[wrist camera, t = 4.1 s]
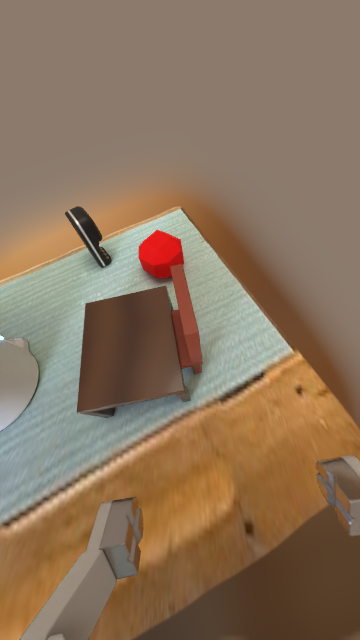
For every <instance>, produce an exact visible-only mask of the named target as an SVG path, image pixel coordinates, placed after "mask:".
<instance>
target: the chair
mask: <svg viewBox="0 0 360 640" xmlns="http://www.w3.org/2000/svg"><path fill="white" fill-rule="evenodd" d="M170 268H171V273H172V278H173V283H174V288H175V293H176V298H177V303H178V307H179V309H178V310H174V311H171V313H172V318H173V324H174V330H175V335H176V341H177V346H178V352H179V357H180V363H181V369H183V368H187V367H192V366H193V370H194V373H199V372H202V368H201V365H202V355H201V347H200V338H199V331H198V327H197V323H196V319H195V315H194V311H193V307H192V302H191V298H190V294H189V290H188V286H187V282H186V278H185V274H184V270H183V266H182V264H179V265H175V266H170Z"/></svg>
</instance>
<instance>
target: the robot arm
mask: <svg viewBox="0 0 360 640" xmlns="http://www.w3.org/2000/svg"><path fill="white" fill-rule="evenodd" d="M38 377H39V369H38V364H37V362H36V360H35V358H34V357H33V356H32V354H31V353H30V352H29V347H28V342H27V340H26V339H23V338H14V339H8V340H5V339H4V337H2V336H0V431H1V430H3V429H4V428H6V427H7V426H8V425H10V424H11V423H12V422H13V421H14V420H15V419H16V418H17V417H18V416H19V415H20V414H21V413H22V412H23V411H24V409H25V408H26V406H27V405H28V403H29V402H30V400H31V398H32V396H33V394H34V392H35V389H36V386H37V383H38ZM316 468H317V470H318V471H319V473H318V474H317V483H318V485H319V488H320V490H321V492H322V494H323V496H324V498H325V499H326V501H327V502H328V503H329V504H331V505H332V506H333V507H335V508H336V516H337V518H338V519H339V521H340V522H341V523H342V525H343V527H344V528H345V530H346V531H347V533H348V534H349V536H356V535H360V461H359V460H358V459H357V458H356V457H355V456H353V455H347V456H343V457H336V458H331V459H326V460H322V461H317V463H316ZM142 536H143V514H142V511H141V509H140V508H139V507H138V500H137V498H136V497H131V498H125V499H120V500H113V501H108V502H103V503H102V504H101V506H100V508H99V511H98V514H97V517H96V520H95V524H94V527H93V530H92V533H91V536H90V539H89V543H88V546H87V549H86V552H85V553H82V554H81V555H80V557H79V558H78V559H77V561H76V562H75V563H74V565H73V566H72V568H71V569H70V570H69V572H68V573H67V574H66V576H65V577H64V579H63V580H62V581H61V583H60V584H59V585H58V587H57V588H56V590H55V591H54V592H53V594H52V595H51V596H50V598H49V599H48V601H47V602H46V603H45V605H44V606H43V607H42V609H41V610H40V612H39V613H38V614H37V616H36V617H35V618H34V620H33V621H32V623H31V624H30V625H29V627H28V628H27V630H26V631H25V632H24V634H23V635H22V636H21V638H20V639H19V640H89V638H90V636H91V633H92V631H93V629H94V627H95V625H96V623H97V621H98V619H99V617H100V615H101V613H102V611H103V609H104V607H105V605H106V603H107V601H108V599H109V597H110V595H111V593H112V591H113V589H114V586H115V584H116V582H117V580H116V579H121V578H125V577H130V576H134V575H138V569H139V561H140V553H141V551H140V548H139V546H138V544H139V542H140V540H141V539H142Z"/></svg>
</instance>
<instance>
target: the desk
mask: <svg viewBox="0 0 360 640" xmlns="http://www.w3.org/2000/svg"><path fill="white" fill-rule="evenodd" d="M171 311H174V310H173V307H172V304H171V300H170V297H169V294H168V291H167V287H166V286H162V287H158V288H154V289H149V290H145V291H140V292H136V293H131V294H127V295H122V296H118V297H113V298H109V299H104V300H100V301H95V302H91V303H86V306H85V319H84V331H83V344H82V356H81V368H80V381H79V393H78V406H77V413H80V414H86V415H92V416H99V417H105V418H108V417H112V416H114V408H113V407H118V406H123V405H128V404H132V403H137V402H142V401H147V400H152V399H157V398H161V397H166V396H171V395H177V396H178V397H179V398H180V399H181V400H182V401H183V402H185V401H190V395H189V392H188V390H187V388H186V386H185V384H184V380H183V374H182V369H181V363H180V357H179V352H178V346H177V341H176V335H175V330H174V324H173V318H172V313H171Z"/></svg>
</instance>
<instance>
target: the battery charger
mask: <svg viewBox="0 0 360 640" xmlns="http://www.w3.org/2000/svg"><path fill="white" fill-rule="evenodd" d="M65 215H66V216H67V218H68V219H69V221H70V222H71V224H72V225H73V227H74V228H75V230H76V231H77V233H78V235H79V236H80V237H81V239H82V240H83V242H84V244H85V245H86V247H87V248H88V250H89V251H90V253H91V254H92V256H93V257H94V258H95V260H96V261H97V263H98V264H99V265H100V267H101V268H102V267H105V266H106V265H108V264H109V263H110V262H111V257H110V256H109V255H108V253H107V252H106V251H105V250H104V248H103V247H99V241H101V240H102V235H101V233H100V231H99V230H98V228H97V226H96V225H95V223H94V221H93V220H92V219H91V217H90V216H89V215H88V214H87V212H86V211H85V210H84V209H83V208H81V207H75V208H73V209H71V210H67V212H65Z"/></svg>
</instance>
